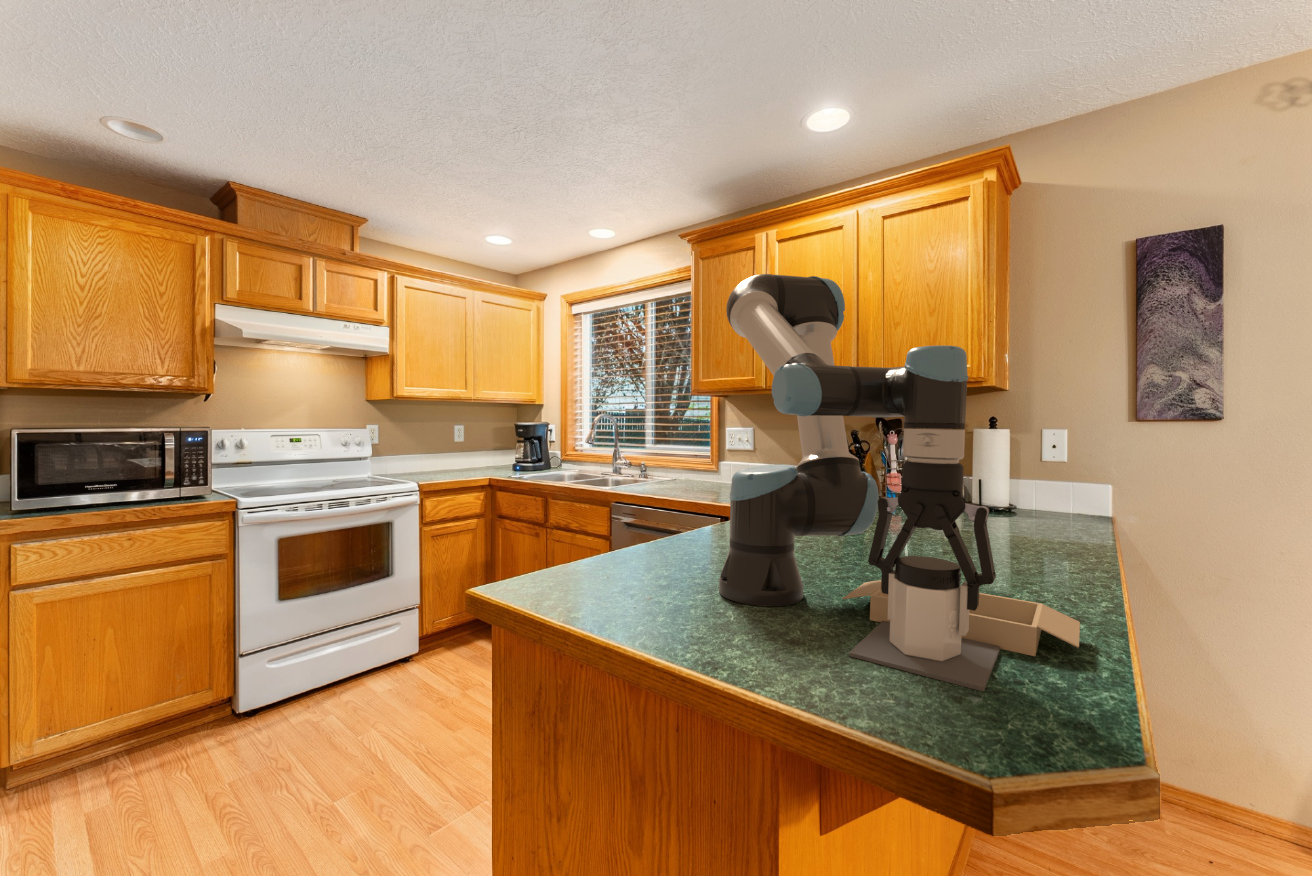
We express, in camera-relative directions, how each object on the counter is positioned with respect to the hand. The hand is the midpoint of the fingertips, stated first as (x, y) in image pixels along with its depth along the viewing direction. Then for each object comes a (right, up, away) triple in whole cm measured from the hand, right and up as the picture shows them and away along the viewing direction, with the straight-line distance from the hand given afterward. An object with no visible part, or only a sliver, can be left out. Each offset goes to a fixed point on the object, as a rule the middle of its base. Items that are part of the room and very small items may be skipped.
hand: (927, 624), depth 79 cm
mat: (0, -4, 0) cm, 4 cm away
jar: (0, -4, 0) cm, 4 cm away
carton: (+10, -4, +12) cm, 16 cm away
